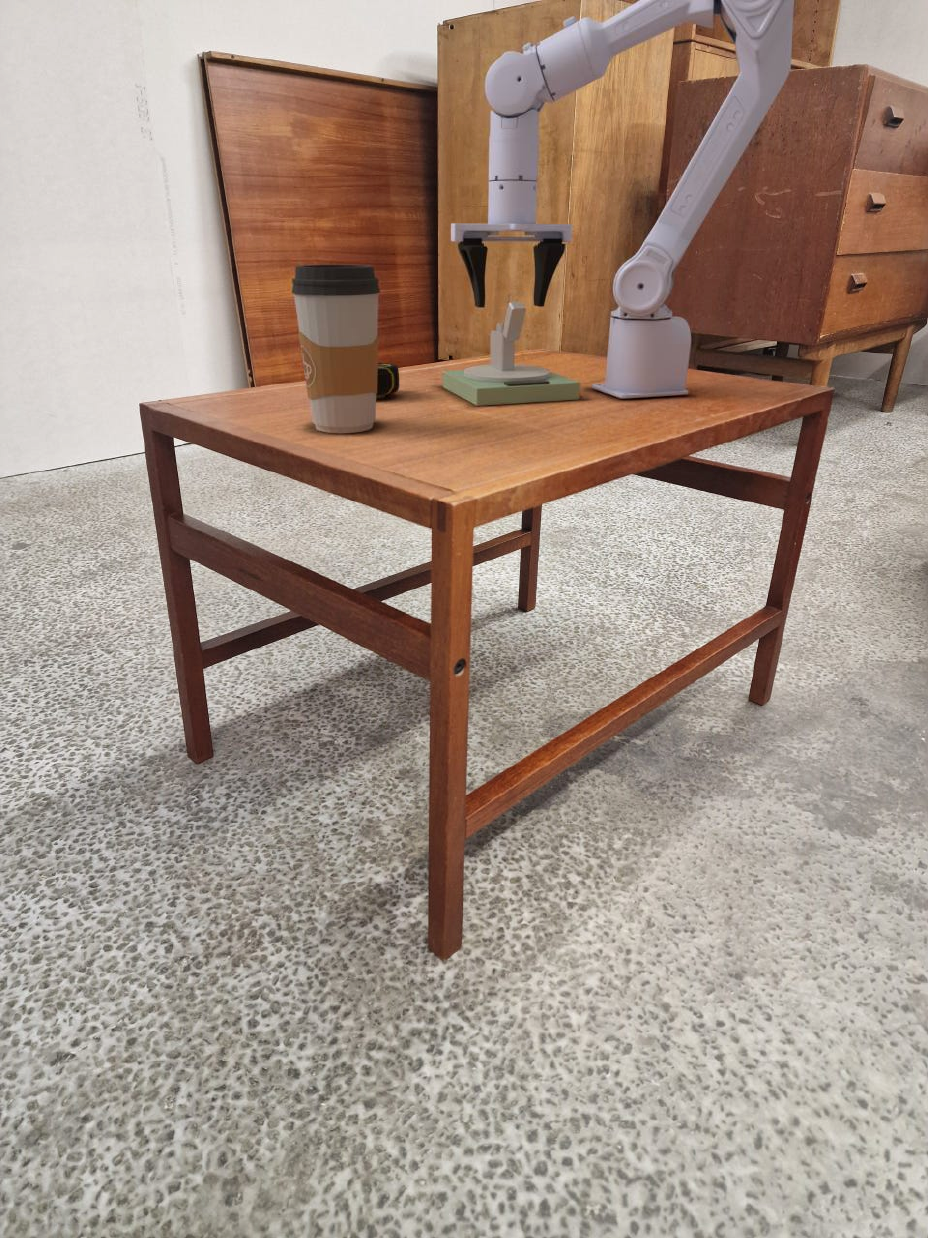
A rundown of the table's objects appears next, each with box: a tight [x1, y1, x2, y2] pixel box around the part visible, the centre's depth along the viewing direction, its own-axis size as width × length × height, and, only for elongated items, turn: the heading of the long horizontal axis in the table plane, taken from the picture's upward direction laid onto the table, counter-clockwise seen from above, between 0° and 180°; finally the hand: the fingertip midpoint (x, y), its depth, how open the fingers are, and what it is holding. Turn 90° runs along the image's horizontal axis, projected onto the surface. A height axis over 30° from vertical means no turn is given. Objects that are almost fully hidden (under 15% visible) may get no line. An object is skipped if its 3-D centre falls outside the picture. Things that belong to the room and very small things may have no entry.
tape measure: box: [376, 362, 400, 400], centre depth 96 cm, size 7×7×4 cm
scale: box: [442, 363, 581, 407], centre depth 98 cm, size 13×13×3 cm
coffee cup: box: [291, 264, 381, 434], centre depth 78 cm, size 8×8×15 cm
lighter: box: [489, 301, 527, 371], centre depth 97 cm, size 7×2×8 cm, turn 19°
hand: (509, 306), depth 99 cm, fingers open, 7 cm apart
